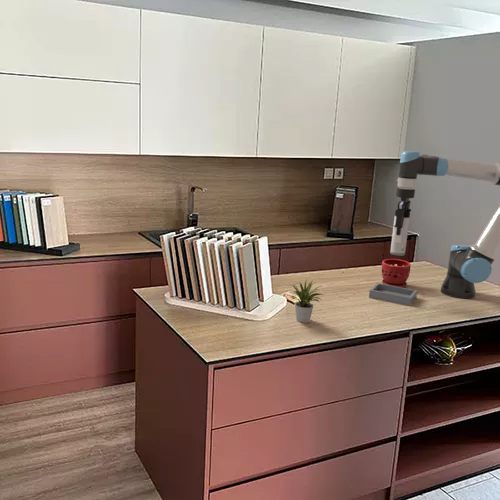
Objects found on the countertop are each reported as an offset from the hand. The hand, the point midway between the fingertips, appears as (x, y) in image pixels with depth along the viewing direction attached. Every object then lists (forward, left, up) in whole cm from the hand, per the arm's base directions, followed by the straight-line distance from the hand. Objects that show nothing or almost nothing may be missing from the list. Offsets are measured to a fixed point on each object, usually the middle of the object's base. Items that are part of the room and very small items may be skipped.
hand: (399, 240), depth 244 cm
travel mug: (0, 0, -6) cm, 6 cm away
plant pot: (+4, -18, -26) cm, 32 cm away
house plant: (+23, +51, -26) cm, 62 cm away
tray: (0, 0, -26) cm, 26 cm away
